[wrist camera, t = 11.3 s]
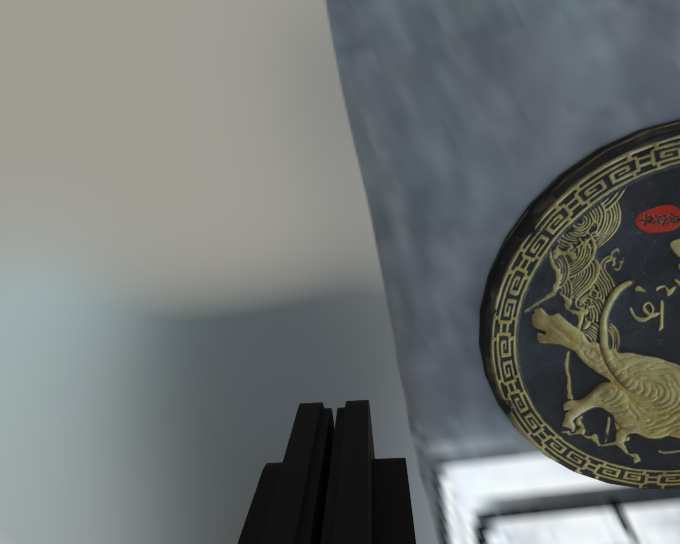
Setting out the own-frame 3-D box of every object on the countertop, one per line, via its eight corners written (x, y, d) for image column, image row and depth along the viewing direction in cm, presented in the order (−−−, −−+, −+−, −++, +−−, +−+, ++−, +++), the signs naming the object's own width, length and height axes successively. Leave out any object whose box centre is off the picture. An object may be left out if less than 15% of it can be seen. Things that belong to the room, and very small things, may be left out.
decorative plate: (513, 105, 26) (998, 119, 25) (504, 110, 28) (955, 123, 27) (462, 478, 34) (831, 506, 32) (457, 462, 36) (806, 488, 34)
